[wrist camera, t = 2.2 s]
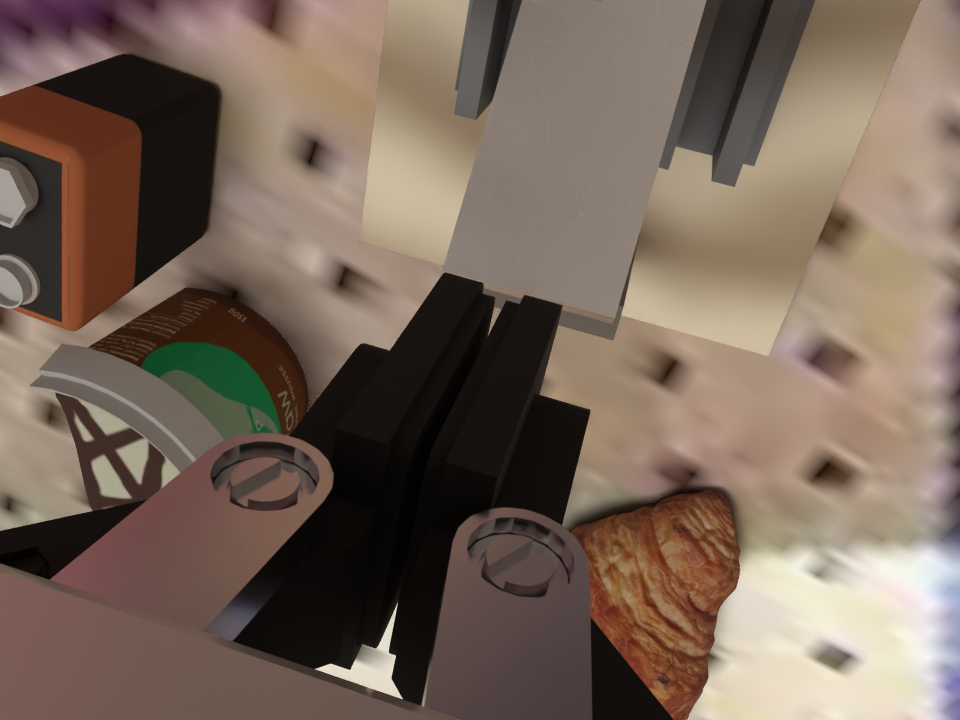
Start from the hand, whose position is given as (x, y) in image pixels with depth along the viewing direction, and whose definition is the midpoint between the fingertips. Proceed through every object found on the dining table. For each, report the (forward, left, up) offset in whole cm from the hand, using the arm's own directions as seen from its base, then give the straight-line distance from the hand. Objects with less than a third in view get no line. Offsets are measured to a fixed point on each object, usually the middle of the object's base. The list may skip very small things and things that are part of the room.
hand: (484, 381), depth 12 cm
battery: (+8, -17, -21) cm, 28 cm away
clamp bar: (-5, 0, -11) cm, 12 cm away
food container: (+18, -12, -21) cm, 30 cm away
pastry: (+26, +5, -22) cm, 34 cm away
